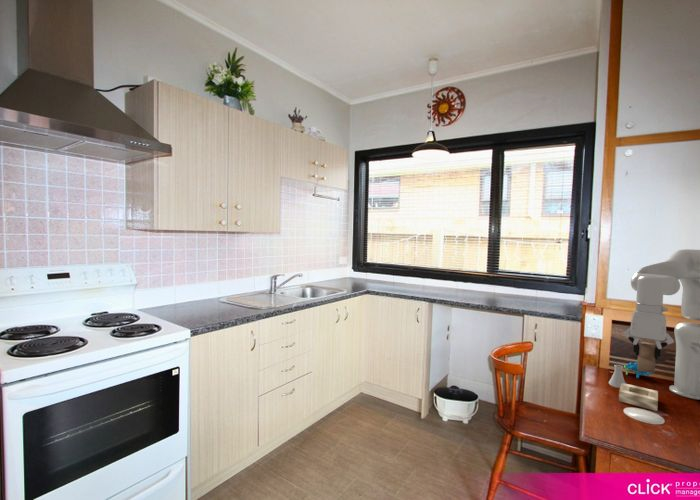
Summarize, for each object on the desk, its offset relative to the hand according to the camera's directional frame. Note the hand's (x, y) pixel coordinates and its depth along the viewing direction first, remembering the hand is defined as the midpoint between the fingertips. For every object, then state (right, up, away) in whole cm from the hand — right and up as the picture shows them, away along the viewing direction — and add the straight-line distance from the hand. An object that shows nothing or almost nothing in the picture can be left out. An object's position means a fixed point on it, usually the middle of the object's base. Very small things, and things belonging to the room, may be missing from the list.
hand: (646, 356), depth 132 cm
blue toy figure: (+31, -23, +42) cm, 58 cm away
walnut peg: (0, -5, 0) cm, 5 cm away
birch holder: (+8, -24, +13) cm, 28 cm away
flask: (+11, -23, +29) cm, 39 cm away
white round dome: (0, -24, +1) cm, 24 cm away
